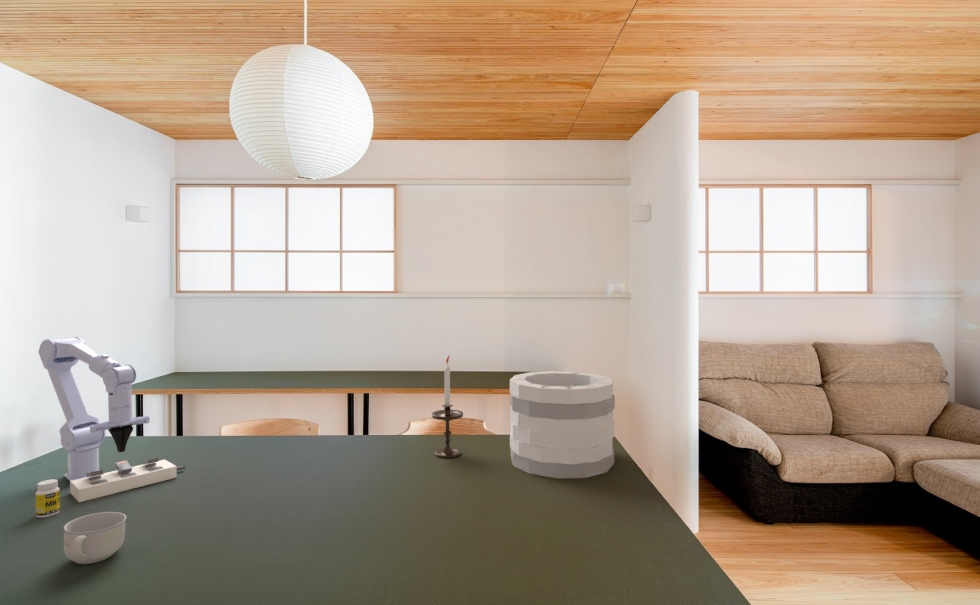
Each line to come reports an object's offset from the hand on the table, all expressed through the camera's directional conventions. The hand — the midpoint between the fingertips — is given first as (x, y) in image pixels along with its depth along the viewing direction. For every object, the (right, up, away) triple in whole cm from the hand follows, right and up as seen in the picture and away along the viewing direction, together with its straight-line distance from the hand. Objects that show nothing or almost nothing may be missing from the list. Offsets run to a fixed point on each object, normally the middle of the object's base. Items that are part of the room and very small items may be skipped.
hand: (121, 451), depth 155 cm
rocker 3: (+6, -4, +4) cm, 9 cm away
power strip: (+4, -9, 0) cm, 10 cm away
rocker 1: (-3, -5, -7) cm, 9 cm away
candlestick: (+96, -9, +25) cm, 100 cm away
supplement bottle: (-3, -10, -22) cm, 24 cm away
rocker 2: (+2, -4, -1) cm, 5 cm away
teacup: (+26, -11, -45) cm, 53 cm away
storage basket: (+135, -9, +19) cm, 137 cm away
